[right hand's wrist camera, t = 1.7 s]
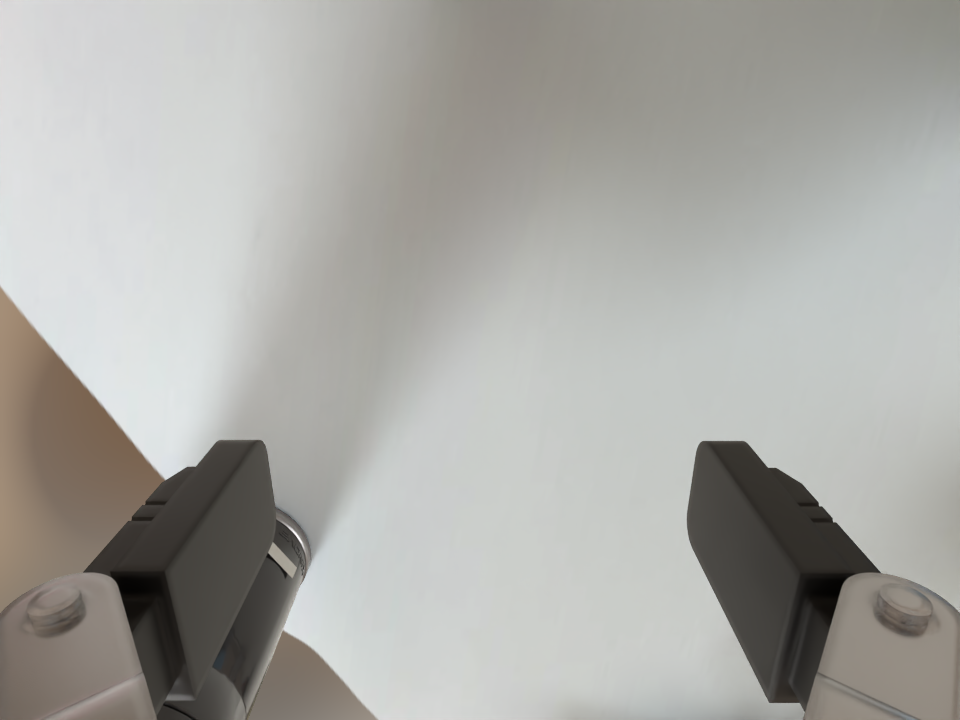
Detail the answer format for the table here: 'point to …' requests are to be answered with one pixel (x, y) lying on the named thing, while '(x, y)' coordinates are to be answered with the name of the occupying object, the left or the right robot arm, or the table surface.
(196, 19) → the table surface
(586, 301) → the table surface
